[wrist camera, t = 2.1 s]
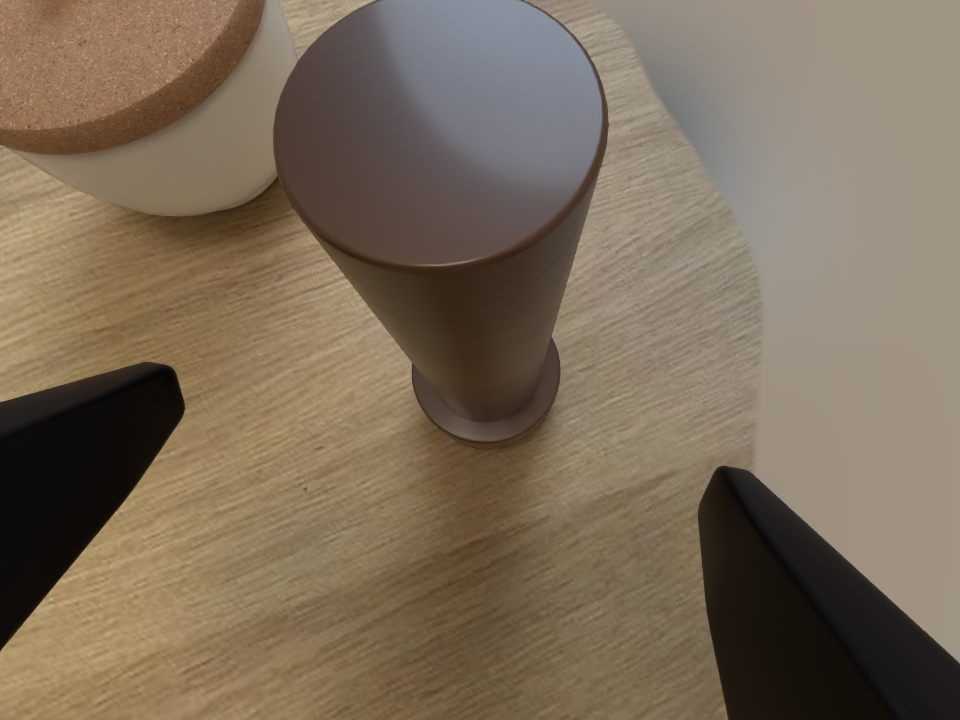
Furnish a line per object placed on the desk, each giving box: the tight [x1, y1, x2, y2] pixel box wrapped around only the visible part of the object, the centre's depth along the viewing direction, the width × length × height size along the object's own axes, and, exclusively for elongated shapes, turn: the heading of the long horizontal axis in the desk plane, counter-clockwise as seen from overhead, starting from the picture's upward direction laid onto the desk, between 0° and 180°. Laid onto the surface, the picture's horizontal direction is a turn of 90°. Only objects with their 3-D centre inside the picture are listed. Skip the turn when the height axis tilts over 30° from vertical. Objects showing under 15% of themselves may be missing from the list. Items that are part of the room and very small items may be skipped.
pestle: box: [273, 0, 609, 449], centre depth 12 cm, size 5×5×14 cm
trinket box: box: [0, 0, 298, 216], centre depth 17 cm, size 11×11×9 cm
